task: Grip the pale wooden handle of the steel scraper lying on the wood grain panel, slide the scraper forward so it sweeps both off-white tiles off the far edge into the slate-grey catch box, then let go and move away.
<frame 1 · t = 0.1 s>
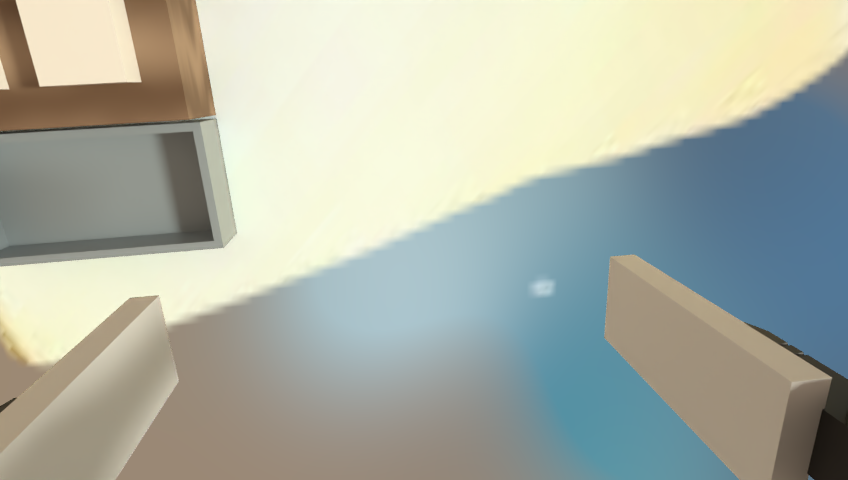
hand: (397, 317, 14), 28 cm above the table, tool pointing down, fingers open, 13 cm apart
tile b: (90, 42, 31), point 6 cm above the table, touching wood grain panel
catch box: (111, 186, 39), on the table
wood grain panel: (66, 7, 35), on the table
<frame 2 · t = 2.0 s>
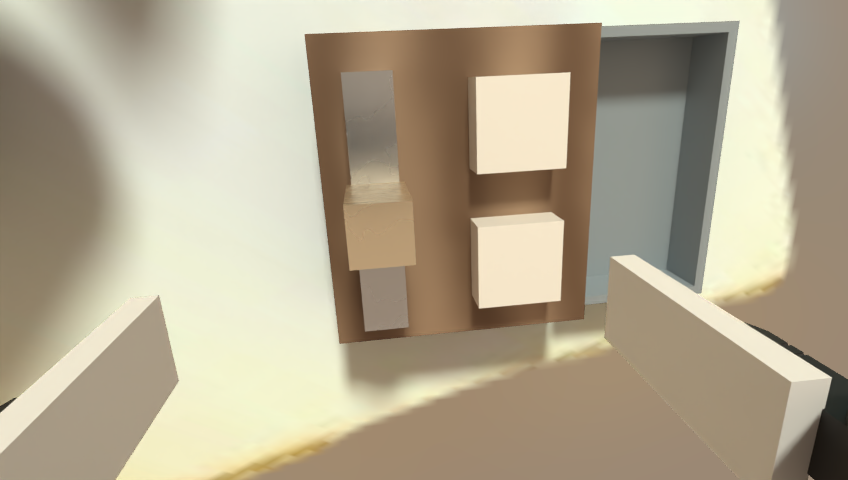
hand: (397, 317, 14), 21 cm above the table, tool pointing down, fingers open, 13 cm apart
tile b: (511, 121, 28), point 6 cm above the table, touching wood grain panel
catch box: (620, 164, 36), on the table
tile a: (510, 254, 30), point 6 cm above the table, touching wood grain panel
wood grain panel: (445, 176, 34), on the table
scraper: (376, 200, 28), point 6 cm above the table, touching wood grain panel
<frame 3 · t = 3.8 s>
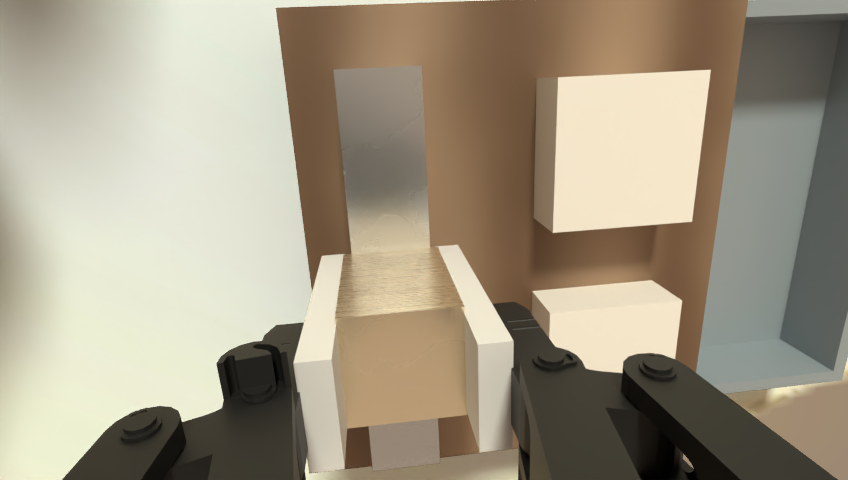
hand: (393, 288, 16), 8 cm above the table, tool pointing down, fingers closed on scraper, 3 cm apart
tile b: (601, 146, 18), point 6 cm above the table, touching wood grain panel
catch box: (726, 198, 26), on the table
tile a: (589, 341, 20), point 6 cm above the table, touching wood grain panel
wood grain panel: (484, 217, 24), on the table
scraper: (390, 267, 18), point 6 cm above the table, touching gripper, wood grain panel
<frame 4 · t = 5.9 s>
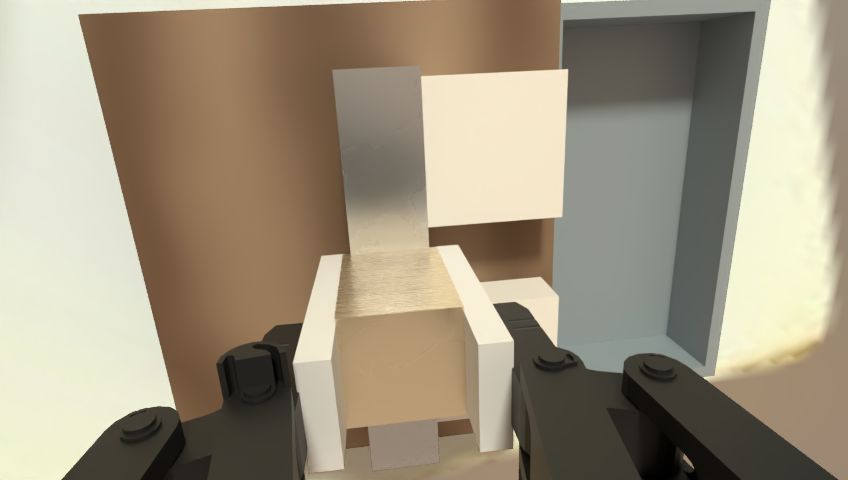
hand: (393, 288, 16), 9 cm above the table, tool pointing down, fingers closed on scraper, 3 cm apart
tile b: (480, 144, 18), point 6 cm above the table, touching wood grain panel
catch box: (602, 197, 26), on the table
tile a: (482, 336, 21), point 6 cm above the table
wood grain panel: (358, 217, 25), on the table
scraper: (389, 267, 18), point 7 cm above the table, touching gripper
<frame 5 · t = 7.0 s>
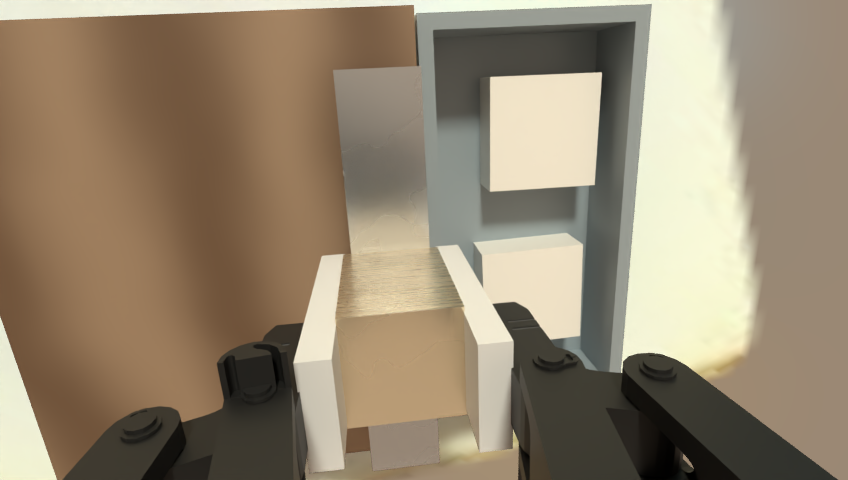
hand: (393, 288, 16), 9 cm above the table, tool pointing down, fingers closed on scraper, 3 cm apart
tile b: (544, 133, 22), point 3 cm above the table, tilted 180°, touching catch box
catch box: (507, 209, 25), on the table
tile a: (533, 297, 24), point 3 cm above the table, tilted 180°, touching catch box
wood grain panel: (252, 229, 24), on the table
scraper: (390, 267, 18), point 7 cm above the table, touching gripper
when the fingers open (9 cm above the table, at t = 8.3 s): scraper stays where it is, resting on wood grain panel.
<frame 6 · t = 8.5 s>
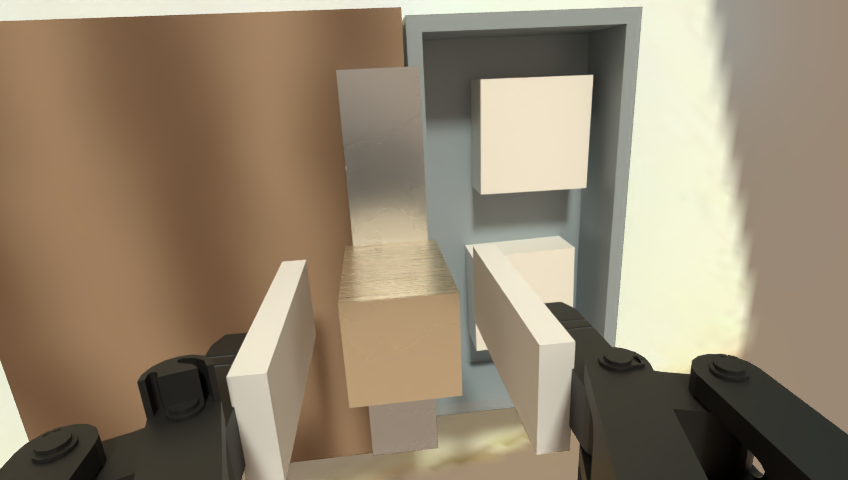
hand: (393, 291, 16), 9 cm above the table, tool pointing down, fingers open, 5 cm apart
tile b: (535, 136, 22), point 3 cm above the table, tilted 180°, touching catch box
catch box: (499, 211, 25), on the table
tile a: (524, 300, 24), point 3 cm above the table, tilted 180°, touching catch box
wood grain panel: (243, 231, 24), on the table
scraper: (390, 259, 19), point 6 cm above the table, touching wood grain panel
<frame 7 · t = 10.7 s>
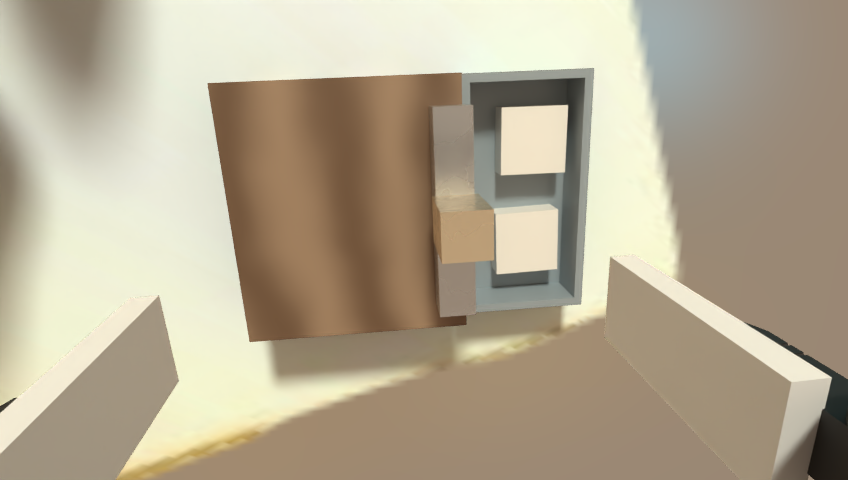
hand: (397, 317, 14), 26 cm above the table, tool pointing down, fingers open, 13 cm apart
tile b: (534, 140, 37), point 3 cm above the table, tilted 180°, touching catch box
catch box: (512, 188, 40), on the table
tile a: (527, 242, 39), point 3 cm above the table, tilted 180°, touching catch box
wood grain panel: (353, 197, 39), on the table
scraper: (450, 209, 34), point 6 cm above the table, touching wood grain panel
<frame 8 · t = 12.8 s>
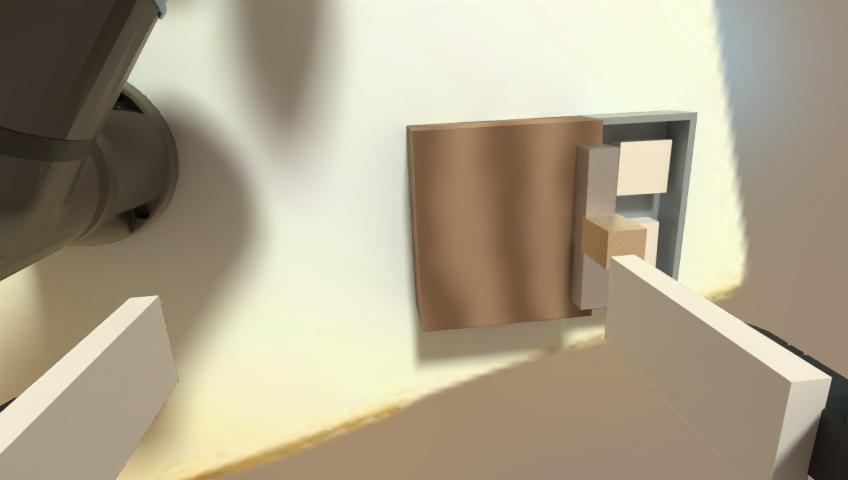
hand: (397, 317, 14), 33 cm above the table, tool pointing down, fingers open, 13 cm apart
tile b: (644, 168, 46), point 3 cm above the table, tilted 180°, touching catch box
catch box: (617, 204, 49), on the table
tile a: (633, 248, 48), point 3 cm above the table, tilted 180°, touching catch box
wood grain panel: (492, 214, 48), on the table
scraper: (586, 224, 43), point 6 cm above the table, touching wood grain panel
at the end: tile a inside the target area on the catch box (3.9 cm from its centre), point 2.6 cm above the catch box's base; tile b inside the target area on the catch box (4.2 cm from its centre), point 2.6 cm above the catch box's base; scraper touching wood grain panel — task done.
